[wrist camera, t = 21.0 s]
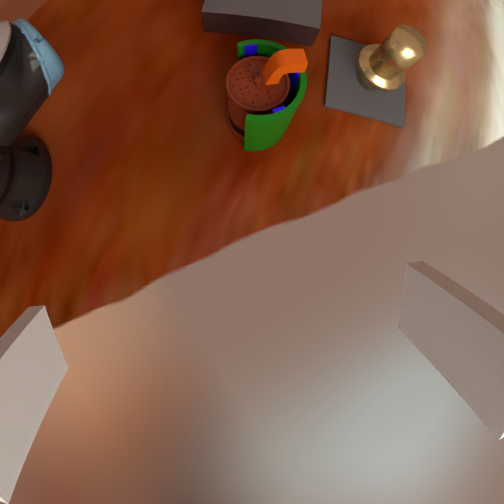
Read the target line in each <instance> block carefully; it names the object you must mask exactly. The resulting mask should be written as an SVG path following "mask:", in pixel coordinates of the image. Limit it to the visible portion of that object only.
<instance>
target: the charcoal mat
mask: <svg viewBox="0 0 504 504" xmlns="http://www.w3.org/2000/svg"><path fill="white" fill-rule="evenodd" d="M365 46H367V45H364V44H361V43H358V42H354V41H351V40H347V39H344V38H340V37H336V36H332V35H331V37H330V46H329V59H328V71H327V82H326V92H325V102H324V107H328V108H332V109H337V110H341V111H345V112H349V113H353V114H356V115H360V116H364V117H367V118H371V119H375V120H378V121H381V122H385V123H388V124H391V125H395V126H398V127H401V128H403V127H404V122H405V82H404V83H403V84H402V85H401V86H400V87H399V88H397V89H396V90H393V91H381V90H378V89H377V90H374V91H370V90H367V89H365V88H364V87H362V86H361V85H360V83H359V82H358V79H357V73H358V71H359V70H358V67H357V57H358V54H359V53H360V52H361V50H362V49H363V48H364V47H365Z"/></svg>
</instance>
